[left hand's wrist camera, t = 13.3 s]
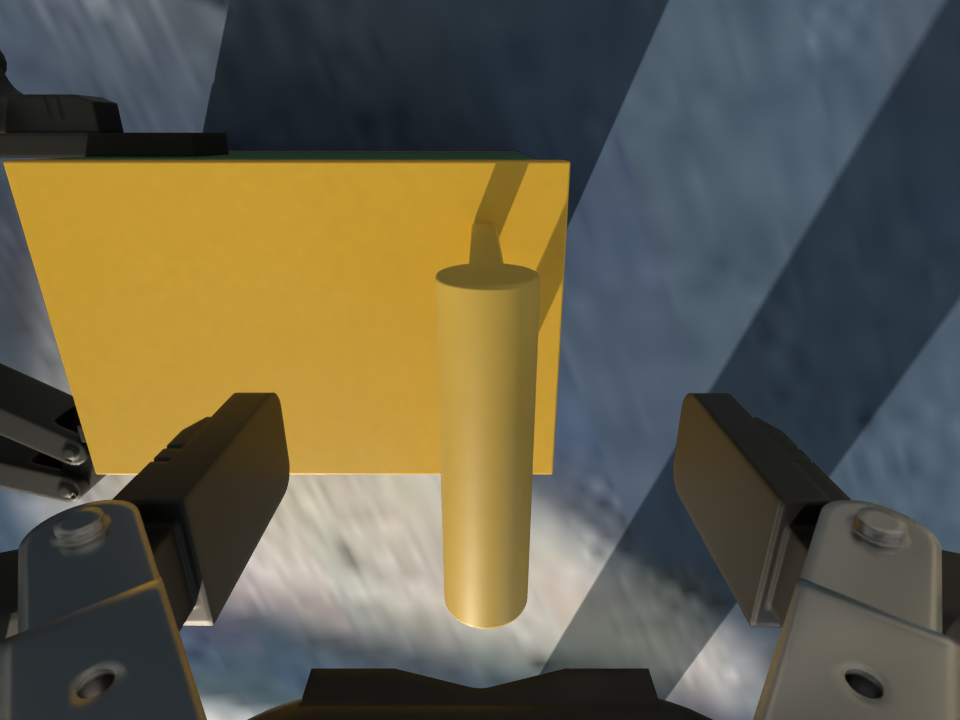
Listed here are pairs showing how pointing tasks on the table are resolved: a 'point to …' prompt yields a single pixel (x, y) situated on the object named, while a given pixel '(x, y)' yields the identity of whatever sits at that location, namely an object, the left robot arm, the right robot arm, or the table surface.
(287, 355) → the lid
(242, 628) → the table surface
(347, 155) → the chest
